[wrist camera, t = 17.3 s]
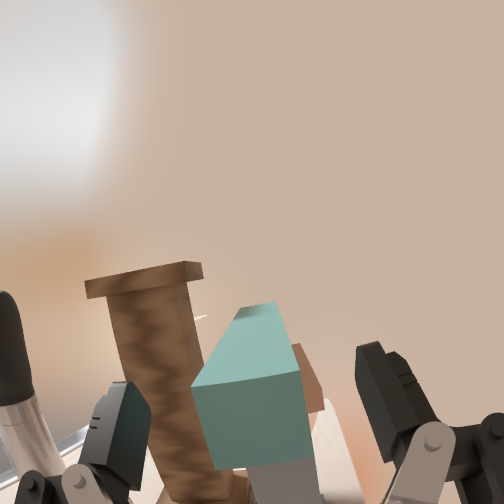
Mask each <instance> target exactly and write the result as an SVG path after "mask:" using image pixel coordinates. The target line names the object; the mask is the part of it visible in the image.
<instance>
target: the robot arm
mask: <svg viewBox="0 0 504 504" xmlns="http://www.w3.org/2000/svg"><path fill="white" fill-rule="evenodd" d="M355 381H356V386H357V389H358V392H359V395H360V397H361V400H362V403H363V405H364V408H365V411H366V413H367V416H368V419H369V422H370V424H371V427H372V430H373V433H374V436H375V438H376V441H377V444H378V447H379V450H380V453H381V456H382V459H383V461H384V463H387V462H390V461H393V462H394V465H395V467H396V470H395V472H394V475H393V477H392V480H391V482H390V484H389V486H388V489H387V491H386V493H385V495H384V497H383V499H382V502H381V503H380V504H438V500H439V497H440V494H441V491H442V488H443V485H444V482H448V481H454V482H455V485H456V488H457V491H458V494H459V497H460V501H461V504H504V414H503V413H493V414H490V415H488V416H487V417H486V418H485V419H484V420H483V421H482V423H481V424H477V425H471V426H464V427H451V426H448V425H446V424H444V423H442V422H441V421H440V420H439V419H438V418H437V417H436V415H435V413H434V411H433V409H432V408H431V406H430V404H429V402H428V400H427V398H426V396H425V394H424V392H423V390H422V389H421V387H420V385H419V383H417V379H416V378H415V376H414V374H412V370H411V369H410V367H409V365H408V363H407V361H406V360H405V359H404V358H403V357H401V356H400V355H399V354H397V353H396V352H391V353H387V354H385V352H384V350H383V348H382V346H381V345H380V343H379V342H378V341H376V342H371V343H368V344H365V345H360V346H357V348H356V362H355ZM151 419H152V414H151V409H150V406H149V404H148V403H147V401H146V400H145V398H144V397H143V396H142V394H141V393H140V391H139V390H138V388H137V387H136V385H135V384H134V383H133V382H132V381H124V382H113V383H112V384H111V385H110V388H109V391H108V394H107V396H103V397H102V398H101V399H100V401H99V402H98V404H97V405H96V406H95V409H94V412H93V415H92V420H91V421H90V425H89V429H88V431H87V434H86V438H85V441H84V444H83V448H82V451H81V455H80V458H79V461H78V463H77V464H74V465H71V466H70V467H68V468H67V469H66V467H65V465H64V462H63V460H62V458H61V456H60V454H59V452H58V450H57V448H56V445H55V443H54V441H53V439H52V437H51V434H50V432H49V429H48V427H47V424H46V422H45V419H44V417H43V414H42V412H41V409H40V406H39V403H38V400H37V397H36V394H35V391H34V388H33V385H32V376H31V368H30V364H29V360H28V355H27V351H26V346H25V341H24V334H23V329H22V323H21V319H20V314H19V311H18V308H17V305H16V303H15V301H14V299H13V298H12V296H11V295H10V294H8V293H7V292H5V291H0V439H1V441H2V447H3V450H4V452H5V454H6V456H7V458H8V460H9V462H10V464H11V466H12V467H13V469H14V471H15V473H16V475H17V477H18V479H19V480H20V483H19V487H18V491H17V495H16V499H15V503H14V504H133V502H132V500H131V499H130V498H129V497H128V496H129V490H132V491H140V489H141V481H142V474H143V468H144V461H145V455H146V448H147V442H148V436H149V431H150V425H151Z"/></svg>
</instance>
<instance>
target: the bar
mask: <svg viewBox="0 0 504 504" xmlns="http://www.w3.org/2000/svg"><path fill="white" fill-rule="evenodd" d="M191 391H192V395H193V398H194V402H195V405H196V409H197V413H198V416H199V419H200V423H201V426H202V430H203V433H204V436H205V439H206V443H207V446H208V449H209V452H210V455H211V458H212V461H213V464H214V467H215V470H222V469H235V468H245V467H254V466H262V465H269V464H276V463H282V462H288V461H294V460H299V459H305V458H310V457H314V454H313V447H312V441H311V434H310V428H309V422H308V416H307V410H306V403H305V397H304V392H303V386H302V380H301V374H300V369H299V366H298V363H297V361H296V358H295V355H294V352H293V349H292V346H291V344H290V341H289V338H288V335H287V332H286V330H285V326H284V324H283V321H282V318H281V315H280V312H279V309H278V307H277V304H276V302H270V303H265V304H260V305H254V306H250V307H243V308H240V310H239V311H238V313H237V314H236V316H235V317H234V319H233V321H232V322H231V324H230V326H229V327H228V329H227V330H226V332H225V334H224V335H223V337H222V338H221V340H220V341H219V343H218V345H217V346H216V348H215V349H214V351H213V352H212V354H211V356H210V357H209V359H208V360H207V362H206V363H205V365H204V367H203V368H202V370H201V371H200V373H199V374H198V376H197V378H196V379H195V381H194V382H193V384H192V385H191Z"/></svg>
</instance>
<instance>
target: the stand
mask: <svg viewBox="0 0 504 504" xmlns="http://www.w3.org/2000/svg"><path fill="white" fill-rule="evenodd" d="M200 279H204V278H203V272H202V267H201V263H199V262H189V261H182V262H177V263H172V264H167V265H162V266H156V267H151V268H146V269H141V270H137V271H132V272H127V273H122V274H117V275H112V276H107V277H102V278H97V279H92V280H87V281H84V282H85V288H86V294H87V299H91V298H97V297H104V296H106V298H107V303H108V308H109V313H110V318H111V323H112V327H113V332H114V336H115V340H116V344H117V348H118V353H119V357H120V360H121V364H122V368H123V371H124V375H125V378H126V381H132V382H133V383H134V384H135V385H136V387H137V388H138V390H139V391H140V393H141V394H142V396H143V397H144V398H145V400H146V401H147V403H148V404H149V406H150V409H151V414H152V419H151V425H150V431H149V436H148V442H147V445H148V447H149V450H150V453H151V455H152V458H153V460H154V462H155V465H156V467H157V470H158V472H159V474H160V477H161V479H162V481H163V483H164V488H163V490H162V492H161V494H160V497H159V499H158V501H157V503H156V504H249V492H250V480H249V477H248V473H247V470H240V471H233V469H222V470H215V467H214V464H213V461H212V458H211V455H210V452H209V449H208V446H207V443H206V439H205V436H204V433H203V430H202V426H201V423H200V419H199V416H198V413H197V409H196V405H195V402H194V398H193V395H192V391H191V385H192V384H193V382H194V381H195V379H196V378H197V376H198V374H199V373H200V371H201V370H202V368H203V367H204V363H203V359H202V354H201V350H200V345H199V341H198V336H197V332H196V327H195V322H194V318H193V313H192V308H191V303H190V298H189V293H188V288H187V283H186V282H189V281H194V280H200Z"/></svg>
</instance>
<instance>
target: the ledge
mask: <svg viewBox="0 0 504 504" xmlns="http://www.w3.org/2000/svg"><path fill="white" fill-rule="evenodd" d="M291 346H292V349H293V352H294V355H295V358H296V361H297V363H298V366H299V369H300V374H301V380H302V386H303V392H304V397H305V403H306V410H307V416H308V413H312V412H317V411H321V410H325V408H324V401H323V394H322V388H321V386H320V384H319V382H318V380H317V377H316V376H315V373H314V371H313V369H312V367H311V365H310V363H309V361H308V359H307V357H306V355H305V353H304V351H303V349H302V347H301V345H300V343H298V344H294V345H291ZM308 422H309V419H308ZM309 428H310V425H309ZM310 434H311V431H310ZM311 441H312V438H311ZM312 447H313V444H312ZM313 454H314V451H313ZM246 470H247V473H248V477H249V480H250V483H251V487H252V490H253V493H254V497H255V500H256V503H257V504H326V503H325V499H324V495H323V494H320V492H319V485H318V478H317V471H316V464H315V457H310V458H305V459H299V460H294V461H288V462H282V463H276V464H269V465H262V466H254V467H246Z"/></svg>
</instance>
